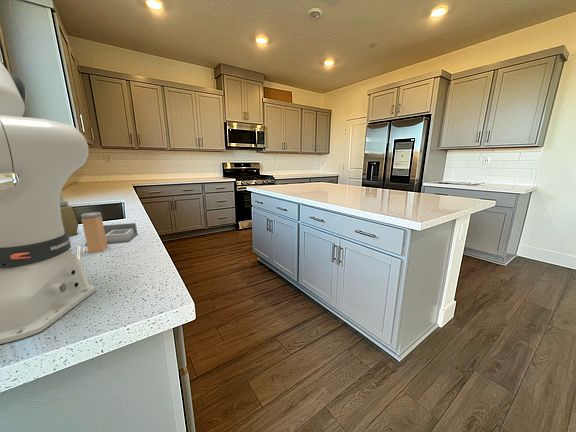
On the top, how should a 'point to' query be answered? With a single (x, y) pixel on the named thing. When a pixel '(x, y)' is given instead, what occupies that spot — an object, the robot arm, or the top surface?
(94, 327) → the top surface
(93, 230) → the grey-capped orange post
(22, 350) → the top surface
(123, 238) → the housing
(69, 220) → the squeeze bottle
